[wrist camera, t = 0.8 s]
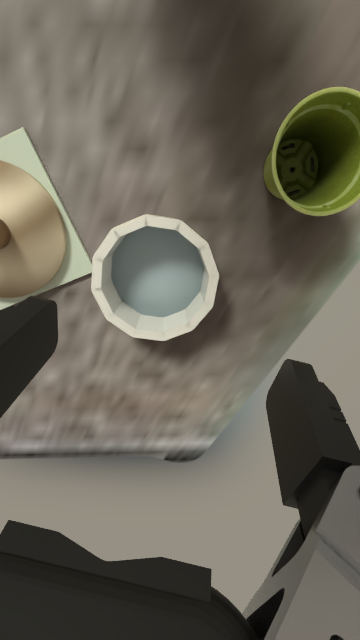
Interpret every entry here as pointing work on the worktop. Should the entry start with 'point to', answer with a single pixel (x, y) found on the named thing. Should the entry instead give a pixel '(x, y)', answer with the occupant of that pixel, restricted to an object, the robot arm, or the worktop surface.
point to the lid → (28, 233)
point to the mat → (76, 259)
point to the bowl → (154, 277)
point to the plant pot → (318, 153)
